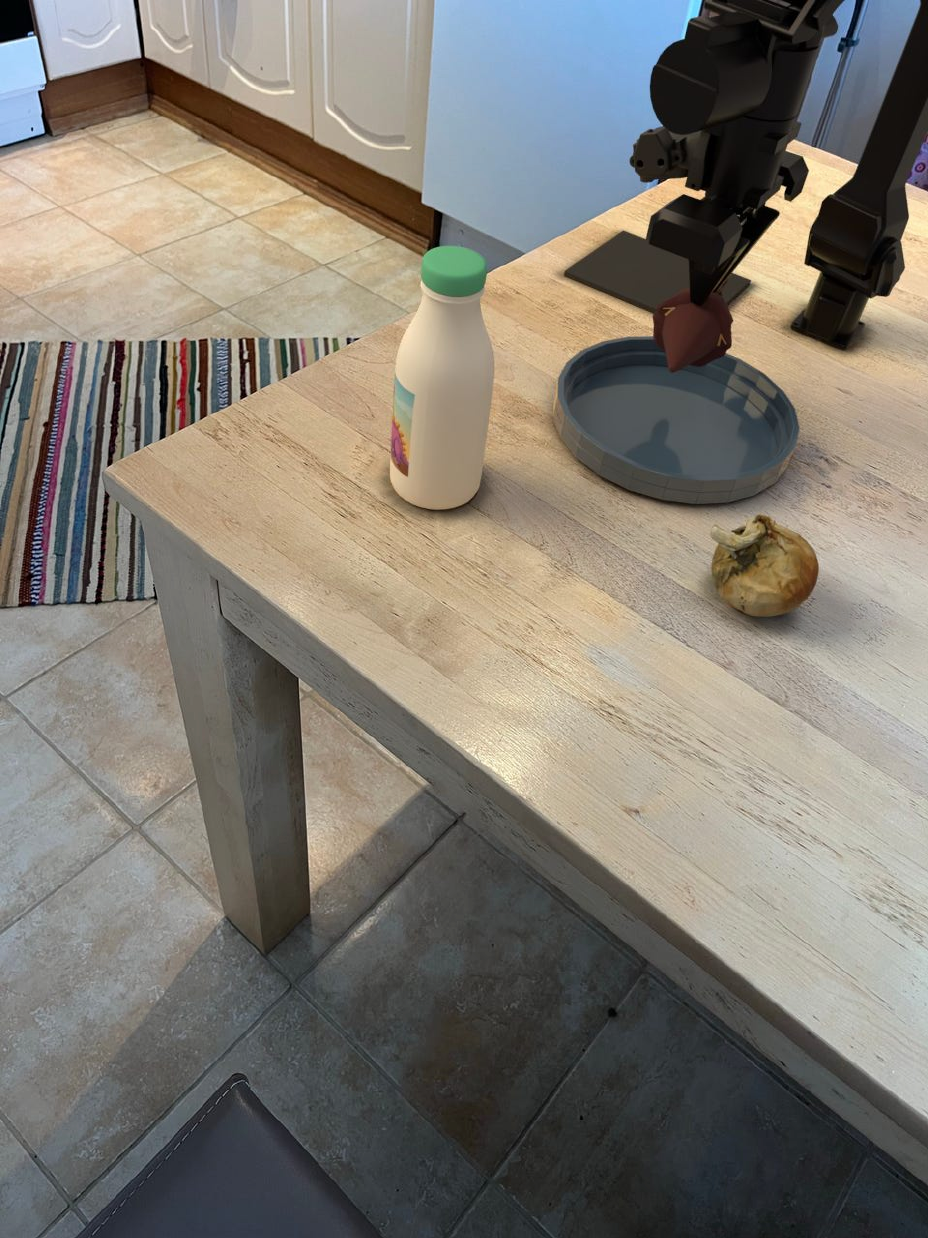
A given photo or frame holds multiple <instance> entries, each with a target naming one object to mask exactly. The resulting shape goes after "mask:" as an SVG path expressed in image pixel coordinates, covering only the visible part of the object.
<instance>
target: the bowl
mask: <svg viewBox="0 0 928 1238" xmlns="http://www.w3.org/2000/svg"><path fill="white" fill-rule="evenodd" d="M552 406H553V407H552V420H553V423H554V426H555V428H556V431H557V433H558V436H559V438H560V440H561V442H563V443H564V445H565V446H566V448H568V450H569V451H570V452H571V453H572V455H573V456H574V457H575V458H576V459H577V460H579V462H581V463H582V464H584V465H585V466H586V467H588V468H589V469H590V470H591V471H593V472H594V473H595V474H596V475H598V476H600V477H602V478H603V479H605V480H608V481H610V482H611V483H614V484H616V485H618V486H620V487H622V488H624V489H626V490H628V491H631V492H634V493H638V494H641V495H644V496H648V497H651V498H654V499H658V500H662V501H668V502H677V503H684V504H692V505H704V504H705V505H706V504H726V503H731V502H734V501H739V500H742V499H746V498H750V497H753V496H756V495H757V494H759V493H760V492H762V491H765V489H767V488H769V487H771V486H772V485H775V483H776V482H777V481H778V480H779V478H781V476H782V474H783V473H784V472H785V471H786V469H787V468H788V465H789V464H790V461H791V459H792V456H793V454H794V452H795V450H796V447H797V443H798V439H799V434H800V430H801V427H800V423H799V419H798V415H797V411H796V408H795V407H794V405H793V404H792V402H791V400H790V399H789V397H788V396H787V395H786V393H785V391H784V390H783V389H782V388H780V386H779V385H777V384H776V383H775V382H774V381H773V380H772V379H771V378H769V376H767V375H766V374H765V373H764V372H762V371H761V370H759V369H757V368H756V367H755V366H753V365H751V364H749V363H747V362H746V361H744V360H743V359H741V358H739V357H738V356H737V357H736V356H734V355H732V354H731V353H727V352H726V353H725V355H724V356H723V357H721V358H718V359H715V360H713V361H712V362H710V363H708V364H706V365H704V366H701V367H695V366H691V365H687V366H685V367H683V368H682V369H680V370H678V371H676V372H674V373H671V372H670V371H669V368H668V362H667V356H666V353H665V352H664V351H663V350H662V349H661V348H660V347H658V345H657V344H656V343H655V342H654V338H653V335H652V336H651V335H648V336H647V335H645V336H643V335H642V336H638V335H637V336H635V335H634V336H623V337H620V338H613V339H606V340H603V341H600V342H598V343H595V344H593V345H590V346H588V347H586V348H583V349H581V350H579V352H578V353H576V354H575V355H574V356H572V357H571V358H570V359H569V360H567V361H566V363H565V364H564V366H563V368H562V370H561V372H560V373H559V375H558V376H557V381H556V387H555V391H554V397H553V405H552Z"/></svg>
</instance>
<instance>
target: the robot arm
mask: <svg viewBox="0 0 928 1238" xmlns="http://www.w3.org/2000/svg"><path fill="white" fill-rule="evenodd" d="M845 1H846V0H780V2H784V3H787V4H788V5H787V6H786V5H783V4H781V3H778V2H775V1H772V0H705V1H704V4H703V9H704V10H706V11H707V12H711V13H714V14H716V15H715V16H709V17H708V16H705V15H700V16H695V17H691V18H690V19H689V20H688V22H687V25H686V29H685V34H684V38H682V39H680V40H677V41H674V42H671V44H669V45H668V46H667V47H665V49H664V50H663V51H662V52H661V54H660V55H659V57H658V59H657V61H656V63H655V64H654V65H653V66H652V68H651V69H652V70H651V74H650V78H649V79H650V80H649V97H650V102H651V107H652V110H653V112H654V115H655V117H656V119H657V120H658V121H659V123H660V124H661V125H662V126H658V127H656V128H654V129H653V128H648V129H647V130H645V131H644V132H642V133H640V134H639V137H638V138H637V139H636V142H635V143H633V145H632V147H633V151H632V152H633V153H632V155H631V156H630V158H629V165H630V167H632V168H634V171H635V173H636V175H637V176H639V181H640V182H641V183H646V184H647V183H653V181H655V180H675V179H684V178H686V180H685V184H684V187H685V188H687V189H690V190H692V191H695V192H700V191H703V192H704V196H703V197H702V198H701V199H699V198H697V197H694V196H690V195H688V194H685V193H683V194H681V195H680V196H678V197H676V198H674V199H672V200H671V201H669V202H667V203H666V204H665V205H664V206H662V207H661V208H660V209H658V210H657V211H655V212H654V213H653V214H652V215H650V218H649V223H648V227H647V231H646V236H645V239H646V241H647V242H648V244H649V245H652V246H655V247H657V248H660V249H663V250H665V251H668V252H670V253H673V254H676V255H678V256H681V257H684V258H686V259H688V261H689V283H690V301H691V302H692V303H693V304H696V305H698V306H702V305H703V304H704V303H705V301H706V300H707V299H708V297H709V296H710V295H711V293H712V292H714V293H716V292H717V291H718V290H719V288H720V287H721V286H722V285H723V283H724V282H725V281H726V280H727V278H728V277H729V276H730V275H731V273H734V272H735V270H736V269H737V268H738V266H739V265H740V264H741V263H742V262H743V260H744V259H745V258H746V256H747V255H748V254H749V253H750V252H751V250H752V249H753V248H754V247H755V245H756V244H758V242H759V241H760V239H761V238H762V237H763V236H764V234H765V233H766V232H767V231H768V230H769V228H770V227H771V226H772V225H773V223H774V222H776V220H777V219H778V218H779V217H780V214H781V213H780V211H779V210H778V209H776V208H773V207H770V206H768V205H766V203H767V202H768V201H769V200H770V199H771V198H772V197H773V196H775V195H776V194H777V193H778V192H780V190H781V189H782V187H784V188H785V190H784V193H783V200H784V201H786V202H790V203H791V202H793V201H794V200H795V199H797V197H798V196H799V195H800V194H802V192H803V189H804V187H805V185H806V181H807V178H808V175H809V172H810V169H809V167H808V165H807V163H806V160H805V158H804V156H803V155H800V154H797V153H794V152H791V151H789V150H787V148H788V145H789V144H790V143H791V142H793V141H794V140H795V139H796V138H798V136H799V133H800V130H801V127H802V124H803V123H802V122H800V121H797V117H798V113H799V111H800V107H801V104H802V101H803V98H804V96H805V91H806V89H807V86H808V83H809V80H810V78H811V74H812V70H813V67H814V65H815V61H816V59H817V55H818V52H819V49H820V46H821V42H822V39H826V38H830V37H833V36H835V35H837V33H838V31H839V24H838V21H837V19H836V17H835V16H834V14H835V12H836V11H837V10H838V9H839V7H840V6H841V5H842V4H843V3H844V2H845ZM927 135H928V0H919V7H918V10H917V13H916V16H915V18H914V20H913V23H912V25H911V28H910V30H909V33H908V36H907V38H906V41H905V44H904V46H903V49H902V51H901V54H900V56H899V58H898V61H897V64H896V66H895V68H894V71H893V74H892V77H891V79H890V82H889V84H888V87H887V90H886V92H885V94H884V96H883V100H882V102H881V105H880V107H879V110H878V112H877V114H876V117H875V120H874V123H873V126H872V127H871V130H870V133H869V136H868V138H867V141H866V143H865V145H864V148H863V150H862V154H861V156H860V159H859V161H858V163H857V166H856V169H855V171H854V173H853V175H852V177H851V178H850V179H849V180H848V181H846V182H845V183H844V184H843V185H842V186H840V188H838V189H836V191H835V192H833V193H832V194H831V193H830V194H828V195H827V196H825V198H824V199H823V200H822V201H821V203H820V207H819V210H818V214H817V216H816V217H815V219H814V221H813V223H812V225H811V227H810V229H809V233H808V238H807V245H806V251H805V256H804V263H803V264H804V265H805V266H807V267H811V268H813V269H815V270H816V271H818V272H819V275H818V277H817V280H816V282H815V284H814V287H813V289H812V292H811V294H810V297H809V300H808V301H807V305H806V307H805V308H803V310H802V311H801V312H800V314H798V315H797V316H796V317H795V319H793V320H792V322H791V324H790V326H789V327H790V329H792V330H793V331H796V332H799V333H801V334H803V335H805V336H809V337H811V338H814V339H816V340H819V341H821V342H823V343H826V344H828V345H830V346H833V347H836V348H838V349H841V350H847V349H848V348H849V347H850V345H852V343H853V342H854V341H855V339H856V338H857V337H858V336H859V335H860V333H862V331H863V330H864V329H865V326H866V323H865V322H863V321H861V318H862V316H863V313H864V311H865V309H866V306H867V304H868V302H869V299H870V300H871V299H873V298H876V297H882V298H883V297H885V298H887V297H889V296H890V295H891V293H892V291H893V288H894V287H895V286H896V285H897V283H898V282H899V281H900V280H901V276H902V275H903V273H904V271H905V270H906V264H905V257H904V249H903V244H902V238H903V235H904V233H905V230H906V228H907V225H908V222H909V219H910V213H909V206H908V198H907V191H906V184H907V182H908V179H909V177H910V174H911V173H912V170H913V168H914V166H915V163H916V160H917V159H918V156H919V154H920V152H921V149H922V147H923V145H924V142H925V140H926V138H927Z"/></svg>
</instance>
